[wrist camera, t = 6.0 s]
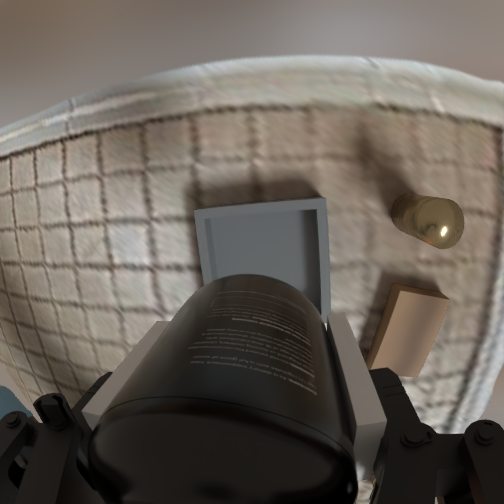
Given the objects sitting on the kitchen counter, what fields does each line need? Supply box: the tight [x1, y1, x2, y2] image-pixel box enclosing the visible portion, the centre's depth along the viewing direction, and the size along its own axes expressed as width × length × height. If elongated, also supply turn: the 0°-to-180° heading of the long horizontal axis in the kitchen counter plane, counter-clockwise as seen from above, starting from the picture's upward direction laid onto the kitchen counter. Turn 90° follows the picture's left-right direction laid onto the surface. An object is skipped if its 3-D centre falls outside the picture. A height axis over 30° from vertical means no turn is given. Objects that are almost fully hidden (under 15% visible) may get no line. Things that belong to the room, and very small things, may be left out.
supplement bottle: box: [87, 274, 359, 504], centre depth 8 cm, size 7×7×12 cm
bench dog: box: [392, 194, 464, 249], centre depth 21 cm, size 4×4×7 cm
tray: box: [194, 197, 331, 323], centre depth 26 cm, size 11×11×2 cm
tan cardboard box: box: [365, 283, 450, 377], centre depth 27 cm, size 6×9×2 cm, turn 170°
